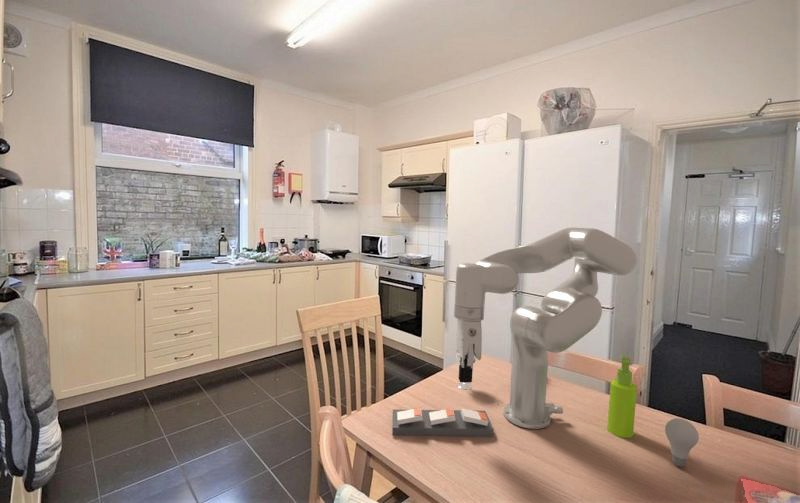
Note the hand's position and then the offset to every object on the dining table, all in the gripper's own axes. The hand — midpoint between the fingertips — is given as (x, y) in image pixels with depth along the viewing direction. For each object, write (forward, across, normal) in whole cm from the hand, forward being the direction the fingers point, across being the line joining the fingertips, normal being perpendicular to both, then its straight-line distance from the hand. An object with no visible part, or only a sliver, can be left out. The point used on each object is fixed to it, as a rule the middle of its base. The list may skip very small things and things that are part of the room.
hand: (465, 380), depth 95 cm
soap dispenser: (+13, +1, -43) cm, 45 cm away
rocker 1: (+10, 0, +14) cm, 17 cm away
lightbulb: (+13, -13, -48) cm, 51 cm away
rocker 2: (+10, 0, -3) cm, 10 cm away
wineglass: (+13, +26, -6) cm, 30 cm away
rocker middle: (+10, 0, +6) cm, 11 cm away
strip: (+14, +2, +5) cm, 15 cm away
